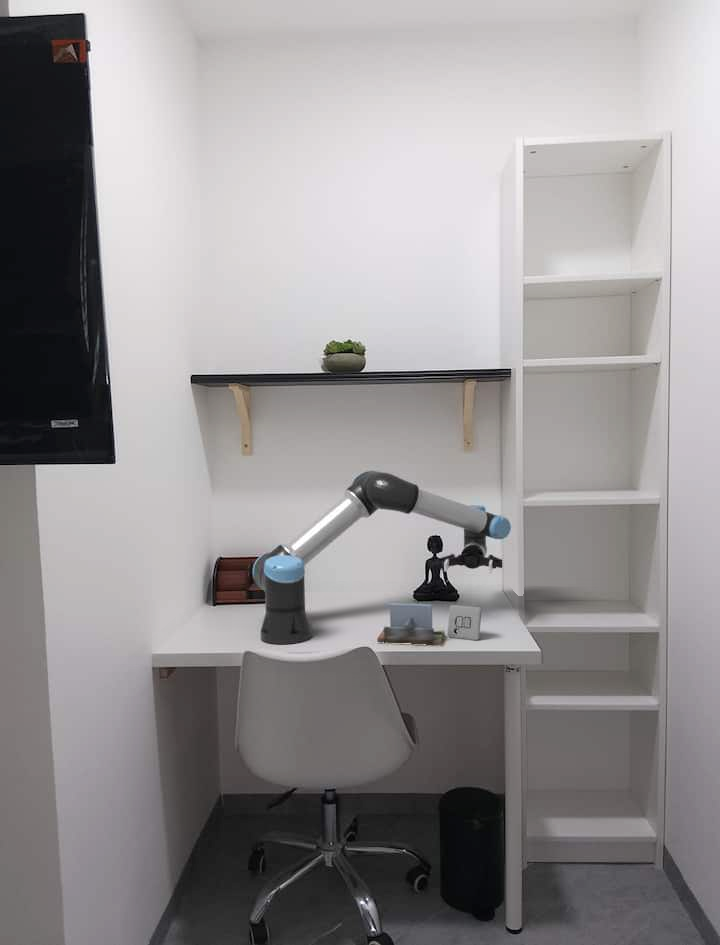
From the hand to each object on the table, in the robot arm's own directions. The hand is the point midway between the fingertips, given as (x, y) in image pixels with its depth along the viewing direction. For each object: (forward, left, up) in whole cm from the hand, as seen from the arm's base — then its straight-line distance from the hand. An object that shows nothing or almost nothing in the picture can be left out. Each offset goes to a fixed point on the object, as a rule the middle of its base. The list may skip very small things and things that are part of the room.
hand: (467, 567), depth 219 cm
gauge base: (-15, -17, -18) cm, 29 cm away
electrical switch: (0, -12, -18) cm, 22 cm away
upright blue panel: (-14, -20, -16) cm, 29 cm away
